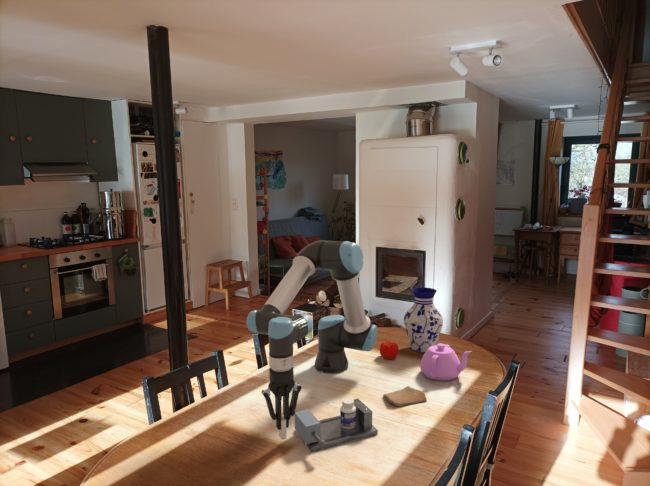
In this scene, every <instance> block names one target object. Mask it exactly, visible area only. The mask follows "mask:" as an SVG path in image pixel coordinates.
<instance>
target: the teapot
mask: <svg viewBox="0 0 650 486" xmlns="http://www.w3.org/2000/svg"><path fill="white" fill-rule="evenodd" d="M472 352H473V350H467V351H464V352H463V353H462V357H461V361H460V359H459V357H458V355H457V354H456V352H455V350H454V349H453V348H451V346H450V345H449V344H444V343H441V342H440V343H439V342H438V343H436V345H434V346H431V347H429V349H428V350H427V351H426V352H425V353H423V355H422V358H421V360H420V365H419V366H420V367H419V368H420V371H421V372H422V373H423V375H424V376H425V377H427V378H429V379H431V380H434V381H435V380H436V381H441V382H442V381H443V382H445V381H447V382H448V381H452V380H454V379H456V378H457V377H458V376H459V375H460V374H461V372H463V371H464V370H465V369H466V366H467V361H468V360H467V359H468V356H469V354H470V353H472Z"/></svg>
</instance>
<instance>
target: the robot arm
mask: <svg viewBox="0 0 650 486" xmlns="http://www.w3.org/2000/svg"><path fill="white" fill-rule="evenodd" d="M363 266H364V254H363V250H362V248H361V247H360V245H359V244H358V243H356V242H354V241H353V242H351V241H347V240H345V241H337V240H327V239H326V240H325V239H322V240H317V241H313V242H311V243H309V244H308V245H306V246H305V247H304V248H301V250H300V251H298V253H297V254H295V256H294V258H293V259H292V265H291V267H290V268H289V270H287V272H286V274H285V275H284V276H283V278H282V279H281V280H280V282H279V283H278V285H277V286H276V287H275V289H274V290H273V291H272V293H271V295H270V296H269V297H268V299H267V300H266V302H265V303H264V305H263V306H261V308H260V309H259V310H258V309H254V310H251V311H249V313H248V315H247V317H246V321H245V322H246V327H247V329H248V331H250V332H252V333H256V334H259V335H268V365H269V370H268V371H269V372H268V373H269V383H268V387H267V388H266V389H264V390H263V389H262V391H261V395H262V396H263V397H264V399H265V402H266V406H267V409H268V413H269V416H270V418H271V419H272V421H275V427H276V429H277V430H278V437H280V440H281V441H283V440H287V429H288V428H289V425H290V420H291V417H295V412H296V408H297V405H298V404H297V403H298V399H299V395H300V392H301V390H302V389H303V387H302V386H301V384H300V383H296V382H295V377H294V375H295V374H294V344H295V343H297V342H299V341H301V340H302V339H304V338H306V337H307V336H308V335H309V334H310V333H311V332H312V331H313V328H314V324H313V323H314V322H313V320H312V318H311V316H310V315H308V314H307V313H297V314H295V315H290V314H285V313H286V311H287V310H288V308H289V307H290V305H291V303H292V302H293V300H294V299H295V297H297V294H298V293H299V291H300V290H301V289H302V287H303V286H304V284H305V283H306V281H307V280H308V278H309V277H310V276H312V275H314V274H315V272H317V271H318V270H319V271H320V270H322V271H329V272H330V273H329V274H330V276H331V278H332V280H335V281H336V285H337V289H338V293H339V298H340V301H341V305H342V309H343V313H344V316H343V315H340V314H334V315H333V314H331V315H327V316H323V317H322V318H320V319H319V320H318V324H317V325H318V328H317V330H318V331H317V333H318V335H317V341H318V351H317V354H316V357H315V361H314V368H315V370H317V371H318V372H320V373H323V374H338V373H343V372H345V371H347V370H348V369H349V359H348V357H347V354H346V351H345V349H350V350H355V351H361V352H370V351H372V350H373V349H374V347H375V345H376V341H377V338H378V326H377V325H375V324H373V323H372V322H371V319H370V317H369V316H367V315H366V309H365V306H364V301H363V298H362V297H363V296H362V292H361V291H362V290H361V287H360V282H359V277H358V276H359V275H360V273H361V271H362V269H363ZM271 393H272V394H273V395H274V403H275V404H274V405H273V403H272V402H273V401H272V398H271ZM290 393H291V397H290ZM274 406H275V407H274ZM282 414H283V415H282Z"/></svg>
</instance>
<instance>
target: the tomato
mask: <svg viewBox="0 0 650 486" xmlns="http://www.w3.org/2000/svg"><path fill="white" fill-rule="evenodd" d="M379 354H380V356H381V357H383V358H384V359H386V360H394V359H396V358H397V357H398V354H399V345H398V344H397V342H395V341H391V340H385V341H381V343H380V345H379Z"/></svg>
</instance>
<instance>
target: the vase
mask: <svg viewBox="0 0 650 486" xmlns="http://www.w3.org/2000/svg"><path fill="white" fill-rule="evenodd" d="M411 293H412V295H413V297H414V302H413V304H412V306H410V308H409V309H407V310H406V312H404V313H405V314H404V316H403V325H404V328H405V333H406V335H407V339H408V341H409V345H410V348H411V350H412V352H415V353H419V354H425V352H426V351H427V350H428V349H429V347H431V346H434V345H437V344H438V343H437V342H438V340H439V337H440V335H441V332H442V329H443V324H444V317H443V316H442V315H443V314H441V312H440V311H439V310H438V309H437V308H436V306H435V305H434V301H433V300H434V298H435V295H436V293H437V290H436V289H435V288H431V287H422V286H421V287H413V288H411Z"/></svg>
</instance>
